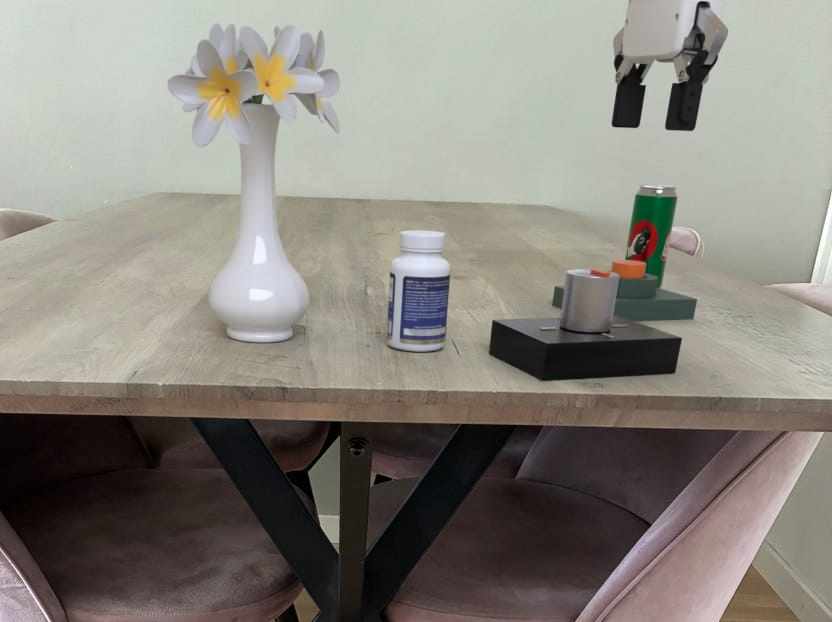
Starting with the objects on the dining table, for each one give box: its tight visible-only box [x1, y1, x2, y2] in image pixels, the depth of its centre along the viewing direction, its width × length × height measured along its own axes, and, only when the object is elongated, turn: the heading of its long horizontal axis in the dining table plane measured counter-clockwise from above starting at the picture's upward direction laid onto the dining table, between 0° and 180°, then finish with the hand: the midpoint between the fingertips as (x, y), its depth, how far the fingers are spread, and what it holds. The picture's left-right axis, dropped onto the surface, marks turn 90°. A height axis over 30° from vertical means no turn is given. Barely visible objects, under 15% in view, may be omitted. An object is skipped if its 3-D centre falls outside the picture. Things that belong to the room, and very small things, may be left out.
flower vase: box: [167, 22, 341, 344], centre depth 83 cm, size 13×18×25 cm
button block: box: [551, 270, 698, 322], centre depth 106 cm, size 12×10×4 cm
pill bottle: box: [386, 229, 451, 353], centre depth 86 cm, size 5×5×10 cm
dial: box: [560, 268, 619, 333], centre depth 82 cm, size 4×4×5 cm
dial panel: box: [488, 316, 683, 382], centre depth 83 cm, size 13×10×3 cm
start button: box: [610, 259, 646, 278], centre depth 105 cm, size 4×4×2 cm
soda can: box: [624, 184, 678, 289], centre depth 119 cm, size 5×5×12 cm
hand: (651, 128), depth 98 cm, fingers open, 9 cm apart
